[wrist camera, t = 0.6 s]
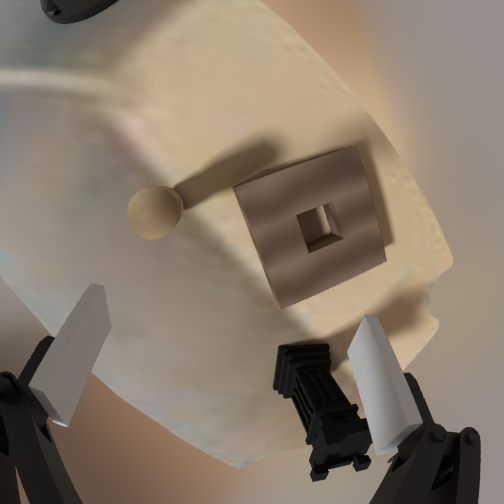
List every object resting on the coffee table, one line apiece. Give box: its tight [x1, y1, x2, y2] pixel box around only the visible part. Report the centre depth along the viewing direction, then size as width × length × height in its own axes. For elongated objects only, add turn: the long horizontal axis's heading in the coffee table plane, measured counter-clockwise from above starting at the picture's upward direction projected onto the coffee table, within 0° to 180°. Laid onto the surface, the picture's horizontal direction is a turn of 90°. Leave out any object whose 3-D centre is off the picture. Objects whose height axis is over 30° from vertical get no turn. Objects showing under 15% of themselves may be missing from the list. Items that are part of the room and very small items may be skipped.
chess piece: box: [273, 344, 373, 482], centre depth 35 cm, size 8×8×20 cm
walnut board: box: [233, 146, 387, 309], centre depth 37 cm, size 16×16×4 cm
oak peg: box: [127, 186, 183, 240], centre depth 30 cm, size 4×4×13 cm
